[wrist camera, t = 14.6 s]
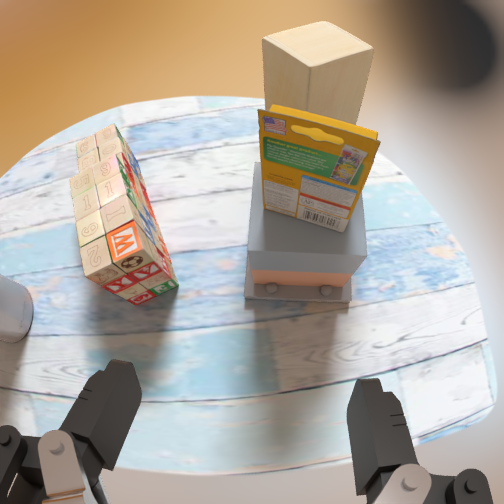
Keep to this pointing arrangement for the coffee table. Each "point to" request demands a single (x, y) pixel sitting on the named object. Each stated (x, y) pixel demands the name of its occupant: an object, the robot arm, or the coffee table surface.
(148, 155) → the coffee table surface
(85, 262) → the stack of blocks
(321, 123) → the crayon box
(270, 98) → the tall beige wooden block
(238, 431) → the coffee table surface
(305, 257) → the two-tone cube on base
